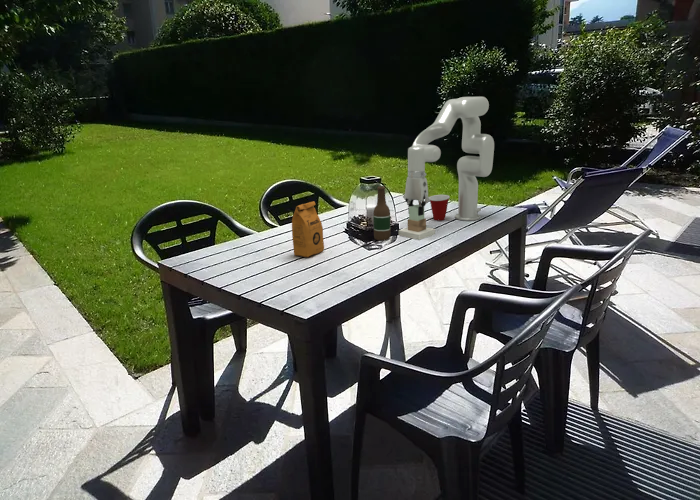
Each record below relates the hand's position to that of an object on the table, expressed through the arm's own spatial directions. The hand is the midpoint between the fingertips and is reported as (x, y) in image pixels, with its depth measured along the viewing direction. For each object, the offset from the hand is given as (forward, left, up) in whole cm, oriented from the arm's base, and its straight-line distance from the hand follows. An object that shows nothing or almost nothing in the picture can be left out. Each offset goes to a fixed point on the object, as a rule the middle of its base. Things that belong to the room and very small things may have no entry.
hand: (415, 213), depth 233 cm
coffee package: (+49, -18, -10) cm, 53 cm away
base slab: (-1, 0, -10) cm, 10 cm away
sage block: (-1, 0, -3) cm, 3 cm away
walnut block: (-1, 0, -8) cm, 8 cm away
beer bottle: (+13, -9, -10) cm, 19 cm away
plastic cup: (-30, -9, -10) cm, 33 cm away
